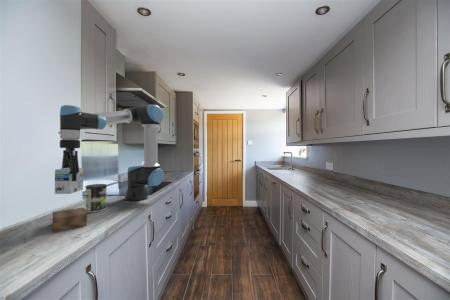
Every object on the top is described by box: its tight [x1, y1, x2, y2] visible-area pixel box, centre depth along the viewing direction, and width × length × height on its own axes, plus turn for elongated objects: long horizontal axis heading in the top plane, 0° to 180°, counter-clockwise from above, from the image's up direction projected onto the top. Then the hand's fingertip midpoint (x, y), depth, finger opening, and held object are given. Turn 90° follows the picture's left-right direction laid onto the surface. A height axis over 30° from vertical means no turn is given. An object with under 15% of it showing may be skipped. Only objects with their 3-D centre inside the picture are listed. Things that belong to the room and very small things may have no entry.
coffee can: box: [85, 183, 107, 213], centre depth 118 cm, size 10×10×14 cm
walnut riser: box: [51, 206, 88, 233], centre depth 94 cm, size 12×12×6 cm
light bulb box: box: [54, 167, 84, 195], centre depth 94 cm, size 11×7×11 cm, turn 9°
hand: (69, 186), depth 94 cm, fingers closed on light bulb box, 12 cm apart
